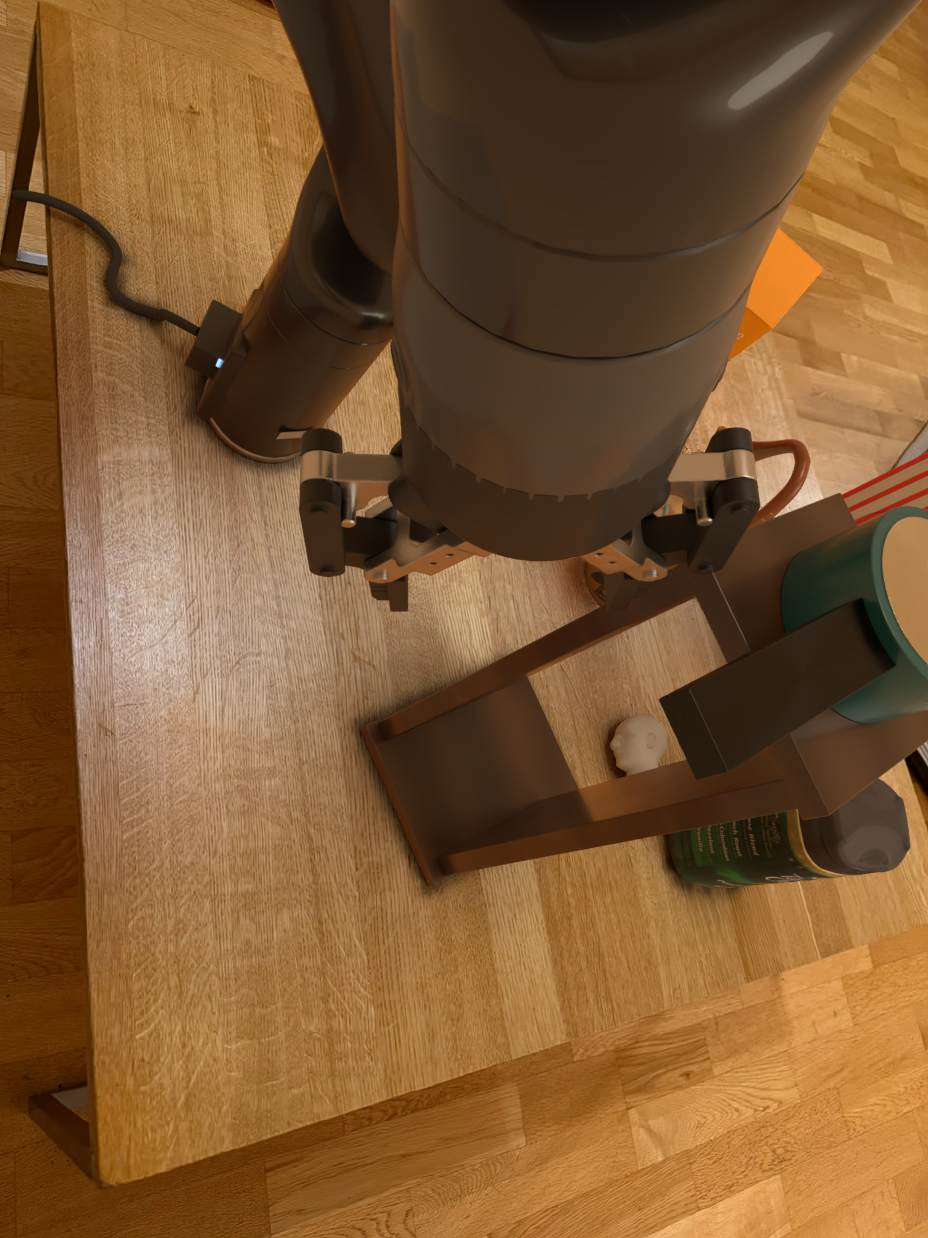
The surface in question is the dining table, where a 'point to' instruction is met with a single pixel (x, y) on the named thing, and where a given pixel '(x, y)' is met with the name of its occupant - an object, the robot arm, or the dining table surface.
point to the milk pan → (821, 648)
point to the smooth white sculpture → (639, 743)
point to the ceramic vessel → (769, 511)
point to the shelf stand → (639, 803)
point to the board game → (891, 491)
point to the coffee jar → (797, 844)
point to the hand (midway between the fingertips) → (506, 588)
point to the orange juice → (775, 289)
